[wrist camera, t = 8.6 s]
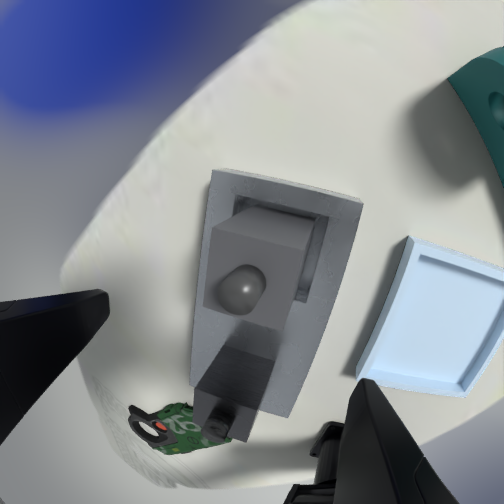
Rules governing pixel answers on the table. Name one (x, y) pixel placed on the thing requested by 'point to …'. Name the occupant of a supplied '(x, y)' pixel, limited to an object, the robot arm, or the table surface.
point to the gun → (171, 429)
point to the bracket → (485, 100)
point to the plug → (257, 264)
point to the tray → (436, 322)
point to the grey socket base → (257, 336)
